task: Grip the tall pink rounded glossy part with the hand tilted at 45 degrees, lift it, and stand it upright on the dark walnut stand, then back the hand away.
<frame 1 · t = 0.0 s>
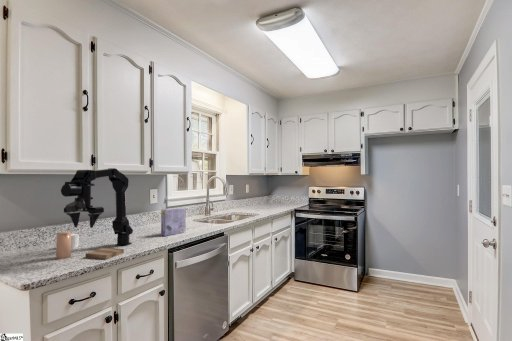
hand: (83, 227, 140), 15 cm above the worktop, tool pointing down, fingers open, 9 cm apart
walnut stand: (105, 255, 144), on the worktop
shot glass: (72, 247, 161), on the worktop
cake pan box: (174, 234, 199), on the worktop
pink rounded glossy part: (63, 257, 140), on the worktop
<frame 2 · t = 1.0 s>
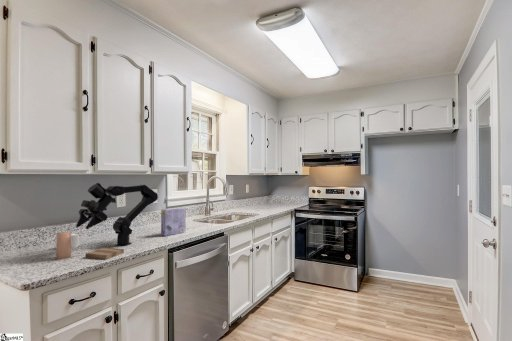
hand: (81, 227, 147), 13 cm above the worktop, tool tilted 45°, fingers open, 9 cm apart
nothing on the worktop moved.
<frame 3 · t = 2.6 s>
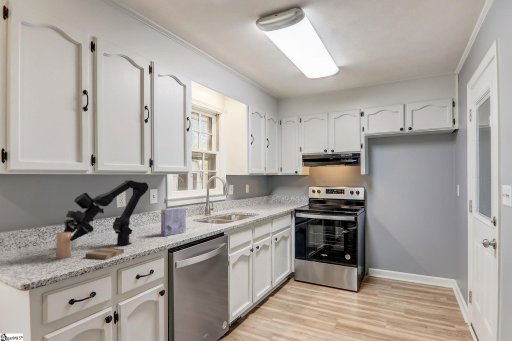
hand: (65, 239, 141), 9 cm above the worktop, tool tilted 45°, fingers open, 9 cm apart
nothing on the worktop moved.
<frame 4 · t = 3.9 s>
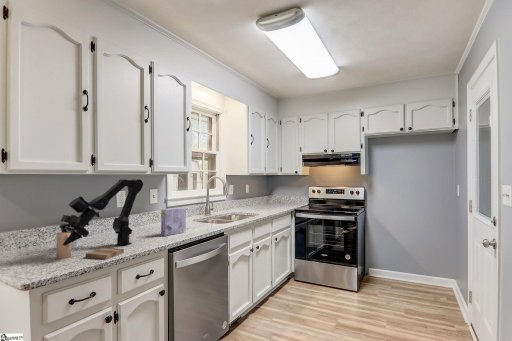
hand: (60, 244, 139), 7 cm above the worktop, tool tilted 45°, fingers closed on pink rounded glossy part, 6 cm apart
pink rounded glossy part: (63, 257, 140), on the worktop, touching gripper
everything else where it was.
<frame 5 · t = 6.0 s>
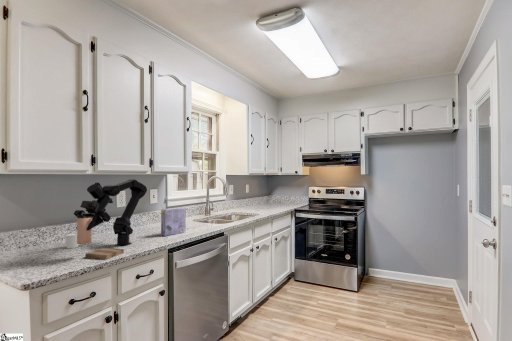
hand: (82, 229, 140), 14 cm above the worktop, tool tilted 45°, fingers closed on pink rounded glossy part, 6 cm apart
pink rounded glossy part: (84, 242, 141), point 7 cm above the worktop, touching gripper
everything else where it was.
when the fingers open (10 cm above the worktop, at t = 8.0 s): pink rounded glossy part drops 1 cm, resting on walnut stand.
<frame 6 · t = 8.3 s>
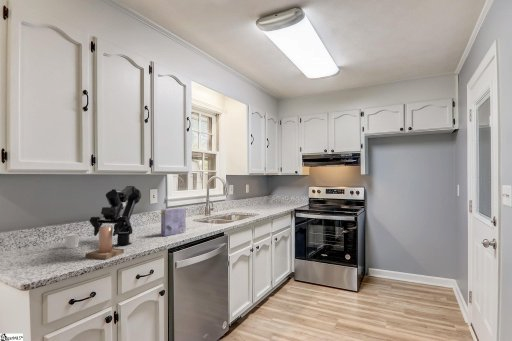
hand: (104, 235, 143), 10 cm above the worktop, tool tilted 45°, fingers open, 9 cm apart
pink rounded glossy part: (105, 251, 144), point 2 cm above the worktop, touching walnut stand
everything else where it was.
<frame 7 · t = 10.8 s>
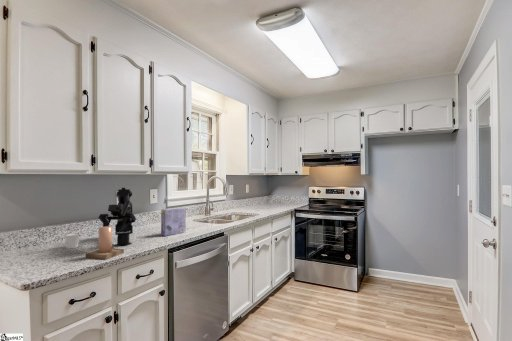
hand: (111, 231, 152), 11 cm above the worktop, tool tilted 45°, fingers open, 9 cm apart
nothing on the worktop moved.
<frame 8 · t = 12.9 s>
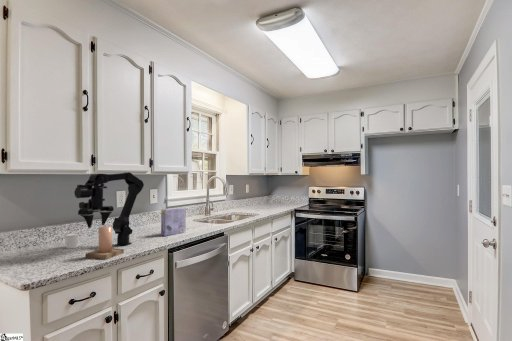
hand: (96, 226, 153), 13 cm above the worktop, tool pointing down, fingers open, 9 cm apart
nothing on the worktop moved.
at the end: pink rounded glossy part inside the target area on the walnut stand (0.0 cm from its centre), point 2.0 cm above the walnut stand's base; pink rounded glossy part tilted 1°; the gripper is holding nothing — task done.
